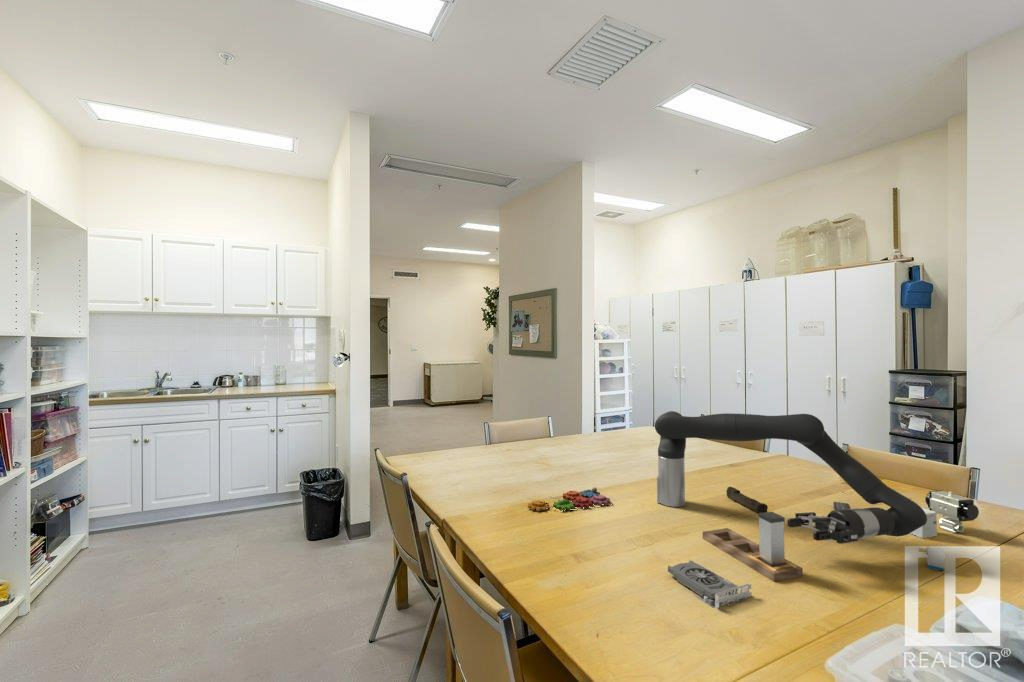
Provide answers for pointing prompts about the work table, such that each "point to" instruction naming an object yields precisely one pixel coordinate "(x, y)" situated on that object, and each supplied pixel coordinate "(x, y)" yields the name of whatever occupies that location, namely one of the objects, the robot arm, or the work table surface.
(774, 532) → the peg
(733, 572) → the work table surface
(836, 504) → the multiport hub
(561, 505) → the gear puzzle
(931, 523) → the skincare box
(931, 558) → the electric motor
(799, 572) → the rail
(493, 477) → the work table surface
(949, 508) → the pneumatic valve
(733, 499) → the hand tool
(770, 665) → the work table surface
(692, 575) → the graphics card
